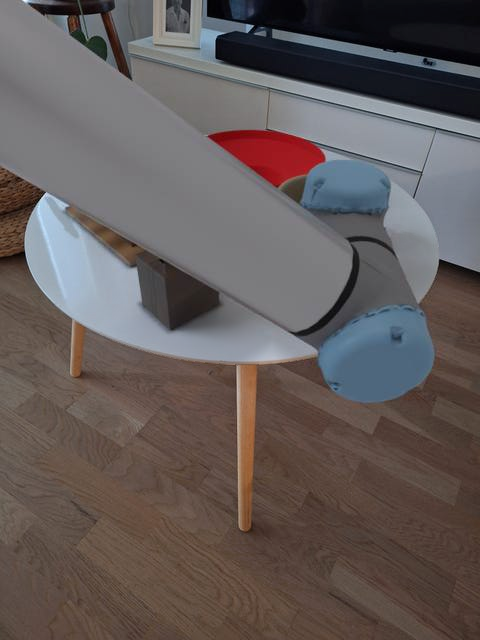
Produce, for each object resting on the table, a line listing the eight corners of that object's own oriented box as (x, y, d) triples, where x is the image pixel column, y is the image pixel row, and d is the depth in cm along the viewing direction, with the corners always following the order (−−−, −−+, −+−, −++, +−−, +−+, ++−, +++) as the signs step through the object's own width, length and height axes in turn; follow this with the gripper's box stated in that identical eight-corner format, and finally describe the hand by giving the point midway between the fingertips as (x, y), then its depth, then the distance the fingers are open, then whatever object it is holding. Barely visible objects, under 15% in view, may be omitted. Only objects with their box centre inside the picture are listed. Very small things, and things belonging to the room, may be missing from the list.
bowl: (316, 238, 93) (324, 192, 86) (170, 222, 96) (166, 177, 89) (320, 174, 116) (327, 133, 109) (202, 162, 119) (201, 122, 112)
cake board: (208, 234, 93) (207, 229, 93) (130, 267, 84) (130, 262, 84) (138, 187, 107) (137, 183, 107) (65, 211, 98) (64, 207, 98)
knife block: (219, 303, 77) (219, 254, 71) (170, 330, 72) (165, 279, 66) (190, 281, 82) (187, 232, 75) (142, 304, 77) (134, 254, 70)
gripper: (209, 318, 54) (107, 234, 67) (302, 268, 62) (195, 201, 75) (209, 266, 49) (98, 185, 62) (309, 218, 57) (194, 156, 70)
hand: (152, 194), depth 68 cm, fingers closed on knife, 3 cm apart
